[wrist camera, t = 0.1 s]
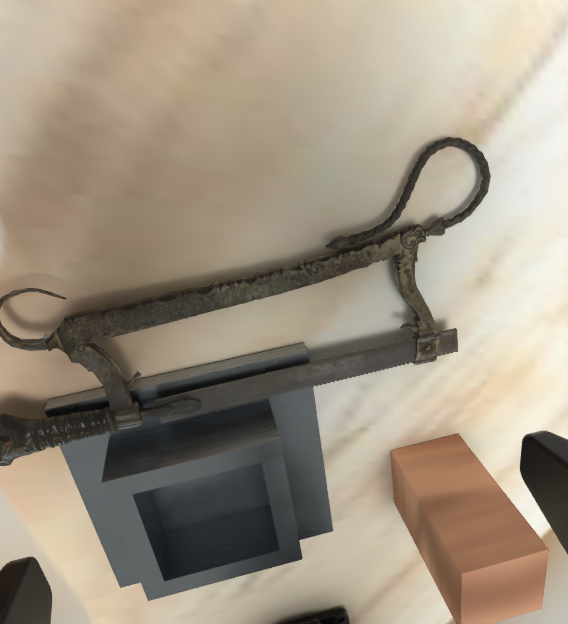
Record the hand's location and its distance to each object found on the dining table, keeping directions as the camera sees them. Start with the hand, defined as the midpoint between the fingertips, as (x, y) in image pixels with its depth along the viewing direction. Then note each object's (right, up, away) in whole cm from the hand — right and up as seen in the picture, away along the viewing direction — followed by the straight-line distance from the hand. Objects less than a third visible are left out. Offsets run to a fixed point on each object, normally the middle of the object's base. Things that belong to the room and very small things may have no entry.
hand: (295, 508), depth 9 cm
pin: (+8, -6, +21) cm, 23 cm away
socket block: (-4, -5, +18) cm, 19 cm away
